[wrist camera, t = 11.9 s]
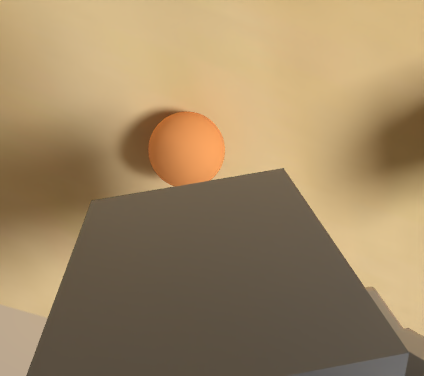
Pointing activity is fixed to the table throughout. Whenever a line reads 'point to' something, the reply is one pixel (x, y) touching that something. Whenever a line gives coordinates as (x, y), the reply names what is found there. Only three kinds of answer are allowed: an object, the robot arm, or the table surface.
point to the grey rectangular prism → (213, 290)
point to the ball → (186, 149)
